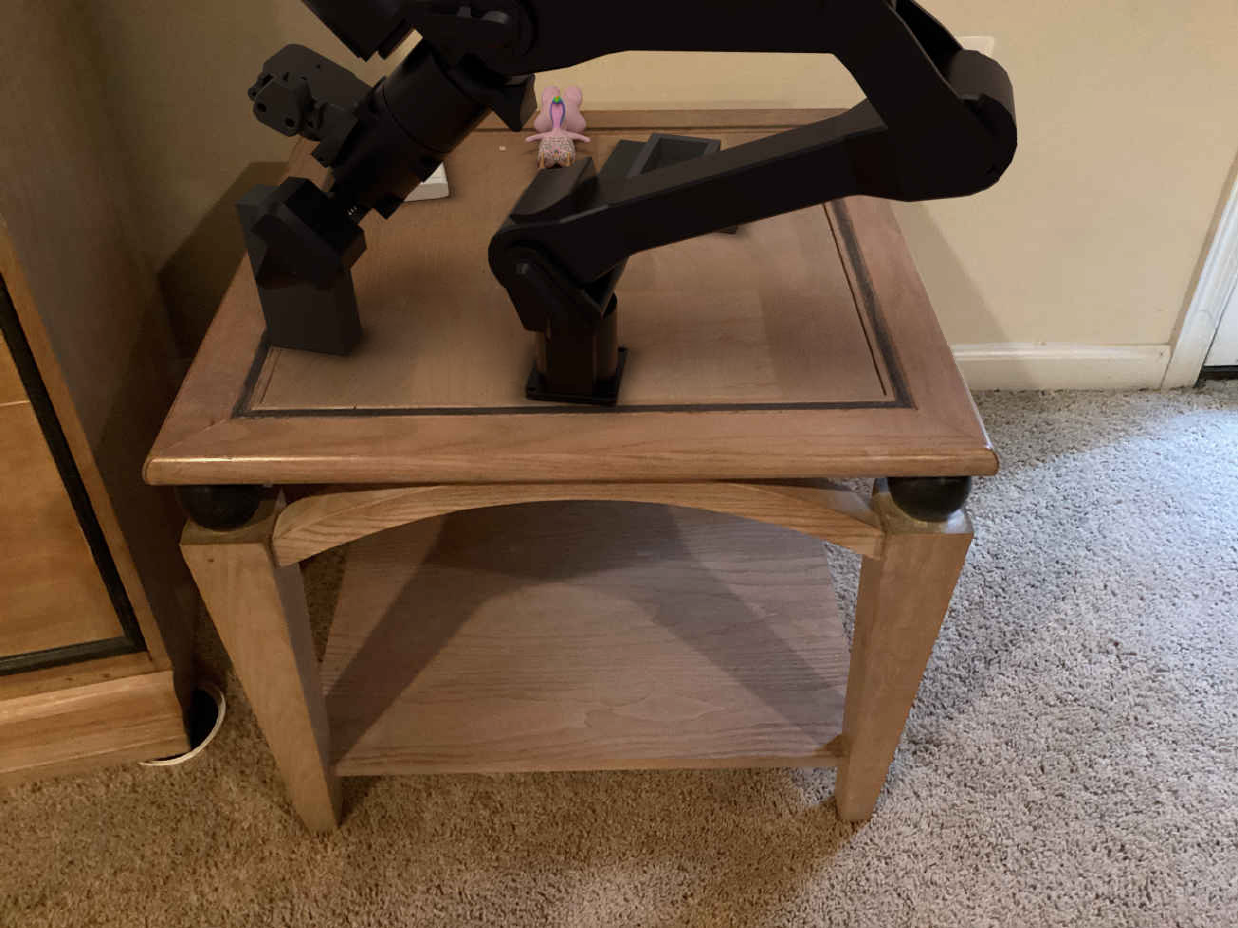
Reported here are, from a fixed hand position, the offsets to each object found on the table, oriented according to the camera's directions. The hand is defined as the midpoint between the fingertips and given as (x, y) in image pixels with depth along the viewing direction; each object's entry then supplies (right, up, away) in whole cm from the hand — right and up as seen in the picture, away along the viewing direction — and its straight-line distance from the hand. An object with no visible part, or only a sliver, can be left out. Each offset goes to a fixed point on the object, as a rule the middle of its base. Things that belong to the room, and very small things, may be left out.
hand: (292, 250), depth 75 cm
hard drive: (+2, +12, +26) cm, 29 cm away
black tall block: (0, -6, +5) cm, 7 cm away
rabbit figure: (+17, +16, +31) cm, 39 cm away
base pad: (+28, +10, +23) cm, 38 cm away
